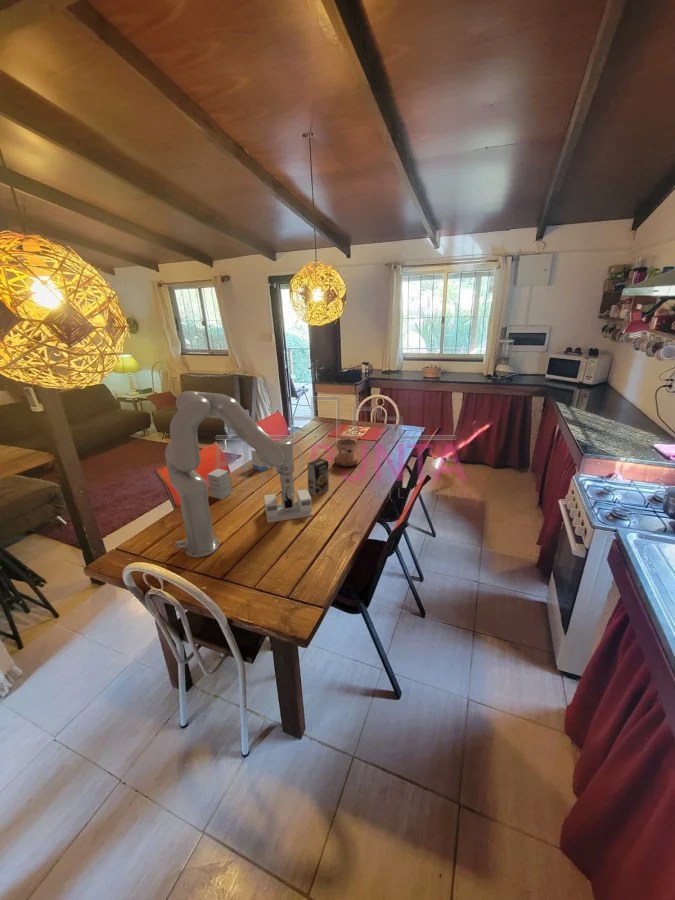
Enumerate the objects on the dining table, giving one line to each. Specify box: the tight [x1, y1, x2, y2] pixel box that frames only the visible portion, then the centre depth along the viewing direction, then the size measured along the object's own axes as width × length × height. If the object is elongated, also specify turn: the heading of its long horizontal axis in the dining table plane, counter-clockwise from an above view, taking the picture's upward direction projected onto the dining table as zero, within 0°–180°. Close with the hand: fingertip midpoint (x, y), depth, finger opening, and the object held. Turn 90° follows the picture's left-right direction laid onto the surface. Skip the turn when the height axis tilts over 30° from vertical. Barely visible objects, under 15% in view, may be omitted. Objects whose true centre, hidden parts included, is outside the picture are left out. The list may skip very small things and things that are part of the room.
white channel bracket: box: [263, 488, 313, 524], centre depth 156 cm, size 20×12×8 cm, turn 106°
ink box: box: [251, 448, 273, 472], centre depth 202 cm, size 9×8×13 cm
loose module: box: [280, 490, 295, 511], centre depth 155 cm, size 5×5×7 cm
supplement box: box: [206, 468, 232, 500], centre depth 171 cm, size 7×7×13 cm
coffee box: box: [306, 458, 330, 496], centre depth 174 cm, size 9×6×16 cm
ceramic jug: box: [333, 438, 359, 467], centre depth 206 cm, size 18×14×14 cm
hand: (287, 504), depth 156 cm, fingers closed on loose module, 4 cm apart
